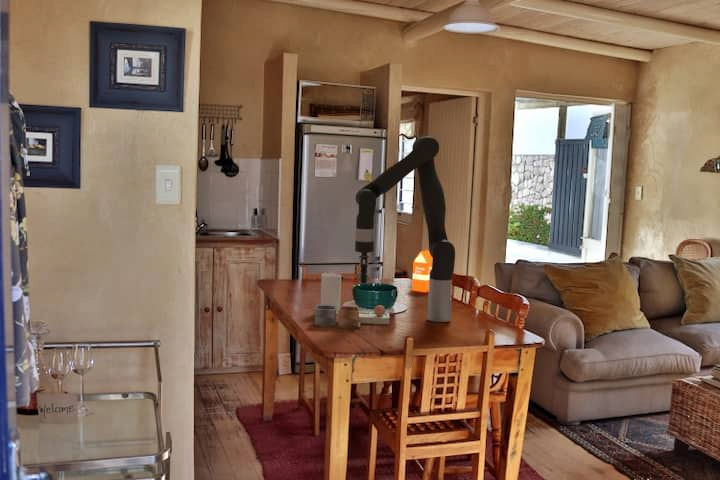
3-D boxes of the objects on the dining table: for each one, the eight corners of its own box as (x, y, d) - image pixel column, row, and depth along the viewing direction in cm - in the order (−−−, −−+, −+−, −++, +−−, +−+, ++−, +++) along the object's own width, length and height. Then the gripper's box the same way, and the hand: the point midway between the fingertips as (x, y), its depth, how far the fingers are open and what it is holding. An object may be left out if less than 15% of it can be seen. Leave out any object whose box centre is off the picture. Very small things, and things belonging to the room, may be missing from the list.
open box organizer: (360, 323, 274) (360, 306, 273) (359, 328, 265) (360, 311, 264) (314, 321, 274) (315, 304, 273) (312, 326, 265) (313, 309, 264)
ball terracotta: (384, 315, 280) (385, 304, 280) (385, 317, 276) (385, 306, 275) (373, 314, 280) (374, 303, 280) (373, 317, 276) (374, 306, 275)
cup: (337, 315, 286) (338, 277, 284) (318, 313, 287) (319, 275, 286) (341, 311, 294) (343, 274, 292) (323, 309, 295) (324, 272, 294)
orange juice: (433, 289, 351) (435, 250, 349) (425, 292, 344) (427, 252, 341) (419, 287, 355) (421, 249, 353) (411, 290, 348) (413, 250, 346)
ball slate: (369, 282, 279) (369, 271, 278) (369, 284, 274) (369, 272, 274) (358, 281, 279) (358, 270, 278) (357, 283, 275) (358, 272, 274)
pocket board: (388, 318, 283) (389, 312, 283) (389, 324, 274) (389, 318, 273) (352, 317, 283) (352, 311, 283) (351, 322, 274) (351, 316, 274)
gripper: (374, 242, 268) (373, 285, 270) (374, 237, 282) (373, 279, 284) (354, 241, 268) (353, 285, 270) (355, 237, 282) (354, 278, 284)
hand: (363, 282), depth 277 cm, fingers closed on ball slate, 4 cm apart
